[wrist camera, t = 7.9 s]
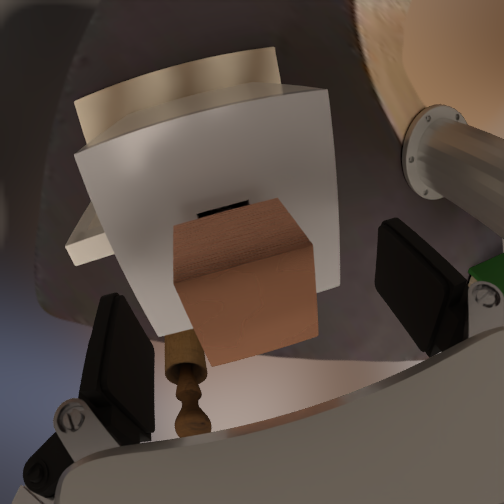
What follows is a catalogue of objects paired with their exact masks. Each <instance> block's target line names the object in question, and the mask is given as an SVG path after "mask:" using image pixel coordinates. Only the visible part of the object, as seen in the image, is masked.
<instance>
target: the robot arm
mask: <svg viewBox="0 0 504 504" xmlns="http://www.w3.org/2000/svg"><path fill="white" fill-rule="evenodd" d="M402 166H403V172H404V176H405V179H406V181H407V183H408V185H409V186H410V188H411V189H412V190H413V191H414V192H415V193H417V194H418V195H420V196H421V197H423V198H425V199H429V200H436V199H440V198H443V197H445V198H447V199H448V200H450V201H451V202H453V203H454V204H456V205H457V206H459V207H460V208H462V209H463V210H465V211H466V212H467V213H469V214H470V215H472V216H473V217H475V218H476V219H477V220H479V221H480V222H481V223H483V224H484V225H486V226H487V227H488V228H490V229H491V230H492V231H494V232H495V233H496V234H498V235H499V236H500V237H501V238H503V239H504V139H502V138H500V137H497V136H495V135H492V134H490V133H487V132H485V131H482V130H480V129H477V128H474V127H472V126H469V125H468V124H467V122H466V121H465V119H464V117H463V116H462V115H461V113H459V112H458V111H457V110H456V109H454V108H452V107H450V106H446V105H433V106H429V107H427V108H426V109H424V110H422V111H421V112H420V113H419V114H418V115H417V116H416V118H415V119H414V120H413V122H412V123H411V125H410V127H409V129H408V131H407V134H406V137H405V140H404V145H403V150H402ZM466 282H467V280H466V279H465V278H464V277H463V276H462V275H461V274H460V273H459V272H458V271H457V270H456V269H455V268H454V267H453V266H452V265H451V264H450V263H449V262H448V261H447V260H446V259H444V258H443V257H442V256H441V255H440V254H439V253H438V252H437V251H436V250H435V249H434V248H432V247H431V246H430V245H429V244H428V243H427V242H426V241H425V240H423V239H422V238H421V237H420V236H419V235H418V234H417V233H415V232H414V231H413V230H412V229H411V228H410V227H408V226H407V225H406V224H405V223H404V222H402V221H401V220H400V219H399V218H392V219H389V220H385V221H383V222H382V224H381V226H379V228H378V244H377V260H376V273H375V287H376V290H377V291H378V293H379V294H380V295H381V297H382V298H383V299H384V301H385V302H386V303H387V305H388V306H389V307H390V309H391V310H392V311H393V313H394V314H395V315H396V317H397V318H398V319H399V321H400V322H401V324H402V325H403V326H404V328H405V329H406V331H407V332H408V333H409V335H410V336H411V338H412V339H413V340H414V342H415V343H416V345H417V346H418V348H419V349H420V350H421V351H422V352H426V354H427V355H428V356H429V359H427V360H425V361H423V362H421V363H419V364H417V365H415V366H413V367H410V368H408V369H406V370H404V371H402V372H400V373H397V374H395V375H393V376H391V377H388V378H386V379H384V380H381V381H379V382H377V383H374V384H372V385H369V386H367V387H364V388H362V389H359V390H357V391H354V392H352V393H349V394H346V395H343V396H341V397H338V398H335V399H332V400H330V401H327V402H324V403H321V404H318V405H315V406H312V407H309V408H305V409H302V410H299V411H296V412H292V413H290V414H286V415H282V416H279V417H275V418H272V419H268V420H264V421H260V422H256V423H252V424H248V425H244V426H239V427H235V428H230V429H226V430H221V431H216V432H211V433H206V434H200V435H194V436H188V437H182V438H176V439H170V440H163V441H156V442H148V443H140V442H145V441H151V433H153V432H154V431H155V418H154V417H155V415H154V356H155V355H154V354H155V353H154V348H153V345H152V343H151V342H150V340H149V338H148V337H147V335H146V333H145V332H144V330H143V328H142V327H141V325H140V323H139V322H138V320H137V318H136V317H135V315H134V313H133V311H132V310H131V308H130V306H129V304H128V302H127V301H126V299H125V297H124V296H123V295H120V296H119V294H118V293H112V294H108V295H104V296H102V297H101V299H100V302H99V306H98V310H97V314H96V317H95V321H94V326H93V330H92V334H91V338H90V340H89V344H88V349H87V353H86V358H85V363H84V368H83V373H82V379H81V385H80V390H79V397H78V398H72V399H69V400H66V401H65V402H63V403H62V404H61V405H60V406H59V407H58V409H57V410H56V412H55V415H54V420H53V423H54V428H55V430H56V432H55V433H54V434H53V435H52V436H51V437H50V438H49V439H48V440H47V441H46V442H45V443H44V444H43V445H42V446H41V447H40V448H39V449H38V450H37V451H36V452H35V453H34V454H33V455H32V456H31V457H30V458H29V459H28V461H27V462H26V464H25V466H24V470H23V478H24V482H25V486H22V485H21V486H20V488H19V490H18V491H17V494H16V495H15V498H14V500H13V502H12V504H504V296H503V293H502V292H501V291H500V289H499V288H498V287H496V286H495V285H493V284H492V283H489V282H486V281H478V282H474V283H473V284H471V285H470V287H468V286H467V285H466ZM439 352H441V353H439ZM438 353H439V354H438ZM436 354H437V355H436ZM434 355H435V356H434ZM432 356H433V357H432ZM430 357H431V358H430Z"/></svg>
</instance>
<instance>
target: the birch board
mask: <svg viewBox="0 0 504 504" xmlns="http://www.w3.org/2000/svg"><path fill="white" fill-rule="evenodd" d="M250 82H262V83H276V84H281V80H280V75H279V69H278V64H277V58H276V53H275V48H274V47H268V48H261V49H254V50H247V51H241V52H235V53H229V54H224V55H219V56H214V57H209V58H205V59H200V60H196V61H192V62H188V63H184V64H180V65H176V66H172V67H169V68H165V69H162V70H158V71H155V72H152V73H148V74H145V75H142V76H139V77H136V78H133V79H130V80H127V81H124V82H121V83H119V84H116V85H113V86H111V87H108V88H105V89H103V90H100V91H98V92H95V93H93V94H90V95H88V96H86V97H83V98H81V99H79V100H76V101H74V103H75V107H76V110H77V114H78V117H79V121H80V124H81V127H82V130H83V133H84V137H85V140H86V143H87V144H88V143H89V142H91V141H92V140H93V139H95V138H96V137H97V136H99V135H100V134H101V133H103V132H104V131H105V130H107V129H108V128H110V127H111V126H112V125H114V124H115V123H117V122H118V121H119V120H121V119H122V118H124V117H125V116H127V115H128V114H131V113H134V112H137V111H140V110H143V109H146V108H149V107H152V106H155V105H159V104H162V103H165V102H169V101H172V100H176V99H179V98H183V97H187V96H191V95H195V94H198V93H203V92H207V91H211V90H215V89H220V88H224V87H229V86H234V85H239V84H244V83H250Z"/></svg>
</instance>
